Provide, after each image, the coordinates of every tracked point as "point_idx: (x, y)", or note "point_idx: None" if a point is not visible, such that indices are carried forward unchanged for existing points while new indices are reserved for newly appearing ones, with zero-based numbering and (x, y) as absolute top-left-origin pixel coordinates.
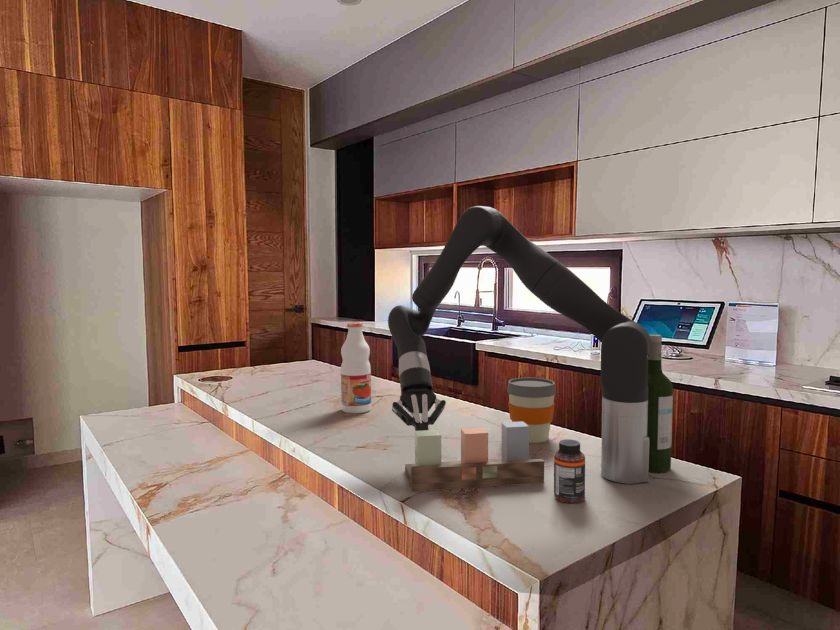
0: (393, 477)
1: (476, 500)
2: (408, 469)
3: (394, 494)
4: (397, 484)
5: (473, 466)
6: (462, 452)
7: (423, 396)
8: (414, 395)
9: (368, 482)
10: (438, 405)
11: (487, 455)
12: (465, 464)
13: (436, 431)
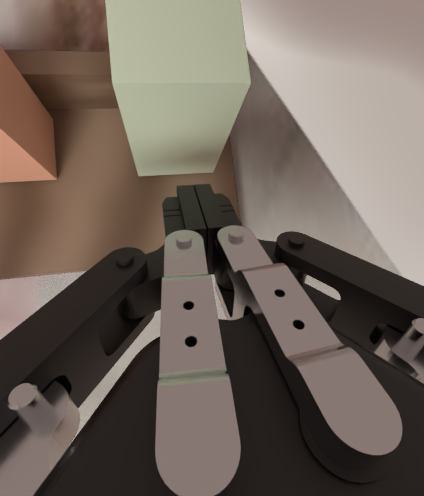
0: (270, 205)
1: (50, 20)
2: (233, 204)
3: (263, 91)
4: (258, 153)
5: (5, 52)
6: (21, 118)
7: (216, 433)
8: (357, 437)
9: (332, 176)
10: (29, 367)
11: None
12: (34, 62)
13: (125, 50)
